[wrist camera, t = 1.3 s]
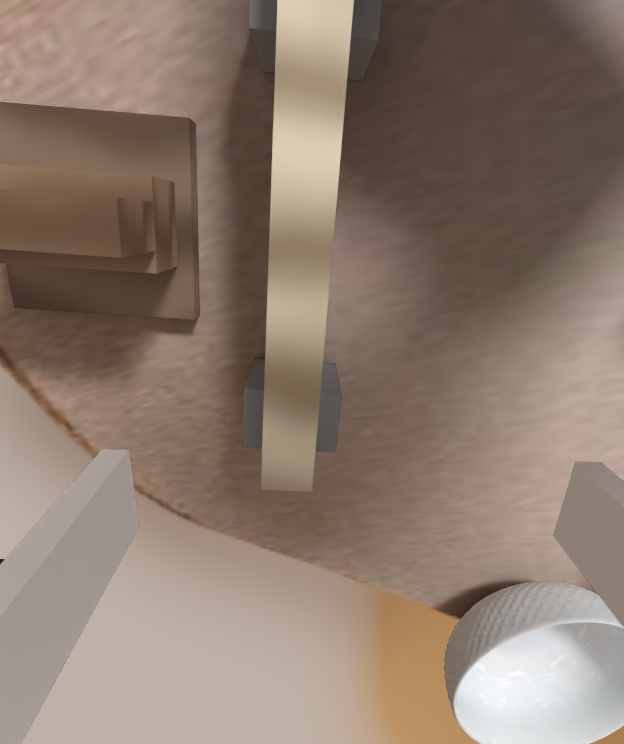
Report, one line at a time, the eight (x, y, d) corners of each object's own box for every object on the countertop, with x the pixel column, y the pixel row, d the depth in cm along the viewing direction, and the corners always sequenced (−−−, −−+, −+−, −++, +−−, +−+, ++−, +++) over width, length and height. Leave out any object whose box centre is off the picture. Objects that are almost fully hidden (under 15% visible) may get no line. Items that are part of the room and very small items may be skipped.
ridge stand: (-5, 106, 25) (-189, 40, 16) (195, 123, 26) (131, 68, 16) (28, 303, 29) (-103, 343, 20) (199, 314, 30) (150, 359, 20)
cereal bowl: (465, 695, 44) (492, 779, 38) (401, 593, 39) (420, 669, 33) (623, 640, 42) (682, 719, 35) (577, 522, 37) (637, 590, 30)
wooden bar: (287, -115, 17) (283, -179, 15) (358, -107, 18) (368, -169, 15) (265, 461, 27) (260, 489, 24) (311, 464, 27) (312, 492, 24)
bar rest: (264, -13, 23) (250, -87, 18) (370, -3, 24) (390, -73, 18) (253, 407, 32) (242, 446, 27) (330, 411, 32) (335, 451, 27)
